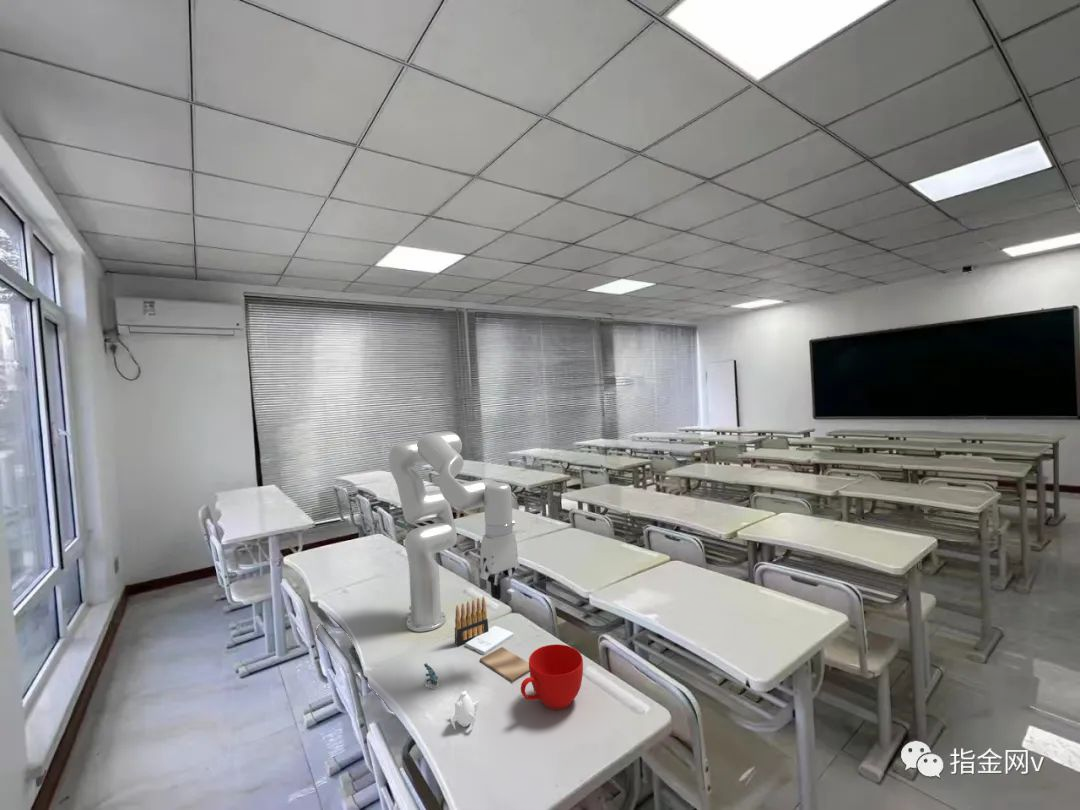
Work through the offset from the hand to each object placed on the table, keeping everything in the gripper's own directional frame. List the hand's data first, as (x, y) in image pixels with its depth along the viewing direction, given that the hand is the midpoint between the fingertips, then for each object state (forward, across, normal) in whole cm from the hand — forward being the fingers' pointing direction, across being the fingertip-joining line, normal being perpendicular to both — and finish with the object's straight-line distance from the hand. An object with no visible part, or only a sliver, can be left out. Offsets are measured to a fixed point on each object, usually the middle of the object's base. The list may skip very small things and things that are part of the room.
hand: (501, 594), depth 123 cm
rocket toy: (+19, +20, +12) cm, 30 cm away
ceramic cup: (+19, +3, +21) cm, 29 cm away
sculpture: (+20, +19, -6) cm, 28 cm away
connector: (+1, 0, 0) cm, 1 cm away
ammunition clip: (+19, -1, -17) cm, 26 cm away
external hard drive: (+20, -4, -12) cm, 24 cm away
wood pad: (+19, 0, +1) cm, 19 cm away
